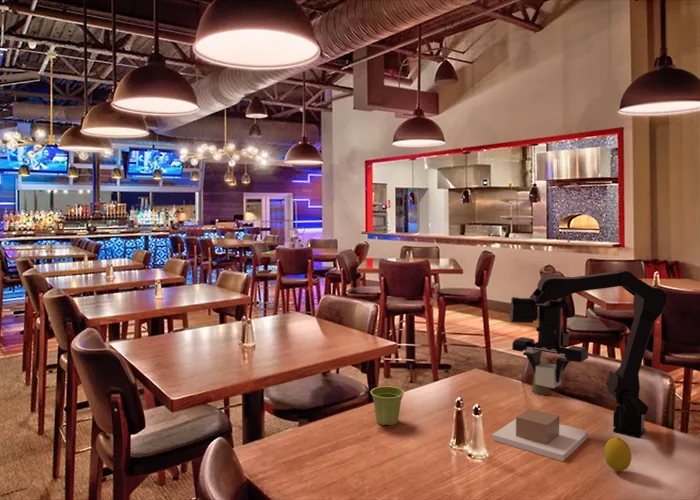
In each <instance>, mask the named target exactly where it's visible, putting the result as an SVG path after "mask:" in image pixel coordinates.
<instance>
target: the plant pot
mask: <svg viewBox="0 0 700 500" xmlns="http://www.w3.org/2000/svg"><path fill="white" fill-rule="evenodd" d="M404 394H405V391H404V389H402V388H400V387H395V386H389V385H386V386H378V387H374V388H372V389H371V390H370V395H371V396H372V399H373V404H374V412H375V420H376V423H377V424H379V425H381V426H384V425H388V426H394V425H396V424H398V422H399V417H400V411H401V410H400V409H401V405H402V404H401V403H402V399H403V396H404Z"/></svg>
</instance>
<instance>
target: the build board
mask: <svg viewBox="0 0 700 500" xmlns="http://www.w3.org/2000/svg"><path fill="white" fill-rule="evenodd" d="M589 434H590V433H589V431H587V430H584V429H579V428H576V427H573V426H572V427H571V426H568V425H564V424H560V415H558V414H553V413H551V412H545V411H541V410H538V409H533V408H527V409H526V410H524V411H523V412H521V413H520V414H518V415H517V416H516V417H515V419H513V420H511V422H509V423H507V424H506V425H504V426H502V427H501V428H500V429H499V430H497V431H495V432H494V433H492V435H491V436H492V439H491V440H492V441H493V442H497V443H500V444H503V445H507V446H510V447H513V448H517V449H520V450H523V451H527V452H530V453H533V454H537V455H541V456H543V457H547V458H550V459H553V460H557V461H559V462H564V461H565V460H566V459H567V458H568V457H569V456H570V455H572V454H573V452H574V451H576V450H578V448H579V447H580V446H581V445H582V444H583V443H584V442H585V441H586V440H587V439H588V438H589Z"/></svg>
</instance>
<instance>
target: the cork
mask: <svg viewBox="0 0 700 500" xmlns="http://www.w3.org/2000/svg"><path fill="white" fill-rule="evenodd" d="M543 362H545V363H550V364H551V362H550V361H549V360H548V359H545V358H540V364H541V363H543ZM535 377H536V374H535V372H534V375H533V382H532V387H531V393H532V392H533V393H535V394H534V395H536V394H538V395H537V396H540V395H548V396H551V395H552V388H550V387H545V386H541V385H537V384H535ZM533 393H532V394H533ZM550 394H551V395H550Z"/></svg>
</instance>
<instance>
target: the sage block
mask: <svg viewBox="0 0 700 500" xmlns="http://www.w3.org/2000/svg"><path fill="white" fill-rule="evenodd" d="M535 384H537V385H541V386H545V387H550V388H551V389H555V388H556V387H558V386H560V385H562V379H561V380H560V382H559V383H557V381H556V364H554V363H551V362H550V363H545V362H543V363H541V364H539V365H537V366H536V377H535Z"/></svg>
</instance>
